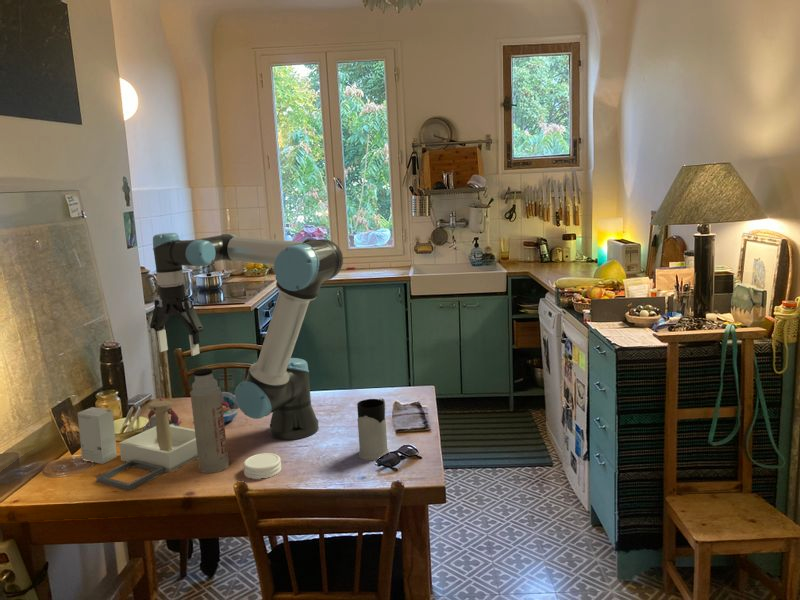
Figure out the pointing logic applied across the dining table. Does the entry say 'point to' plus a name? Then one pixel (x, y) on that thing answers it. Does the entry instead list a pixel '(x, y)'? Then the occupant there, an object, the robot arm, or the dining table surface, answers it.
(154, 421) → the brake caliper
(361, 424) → the white and black cylinder
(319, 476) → the dining table surface
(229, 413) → the cell model
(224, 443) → the thermos bottle
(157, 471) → the rectangular frame
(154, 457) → the parts bin
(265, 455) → the coaster
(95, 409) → the skincare box
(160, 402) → the handle
